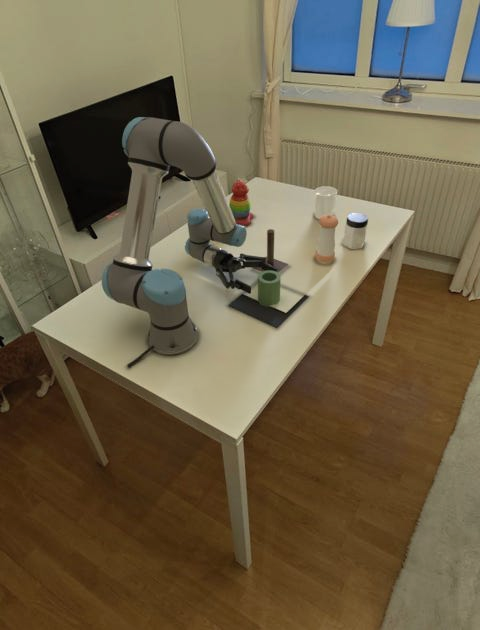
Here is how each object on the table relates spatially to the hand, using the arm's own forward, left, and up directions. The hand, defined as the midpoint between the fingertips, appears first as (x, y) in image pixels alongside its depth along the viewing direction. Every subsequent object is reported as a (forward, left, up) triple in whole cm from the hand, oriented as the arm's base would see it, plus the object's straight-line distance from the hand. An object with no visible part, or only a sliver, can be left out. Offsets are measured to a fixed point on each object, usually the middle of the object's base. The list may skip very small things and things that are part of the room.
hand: (263, 281), depth 146 cm
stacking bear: (+42, +42, -8) cm, 60 cm away
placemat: (0, -2, -8) cm, 8 cm away
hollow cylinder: (0, -2, -7) cm, 8 cm away
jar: (+51, -9, -8) cm, 52 cm away
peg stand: (+17, +9, -8) cm, 21 cm away
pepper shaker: (+34, -5, -8) cm, 35 cm away
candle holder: (+66, +13, -8) cm, 68 cm away
